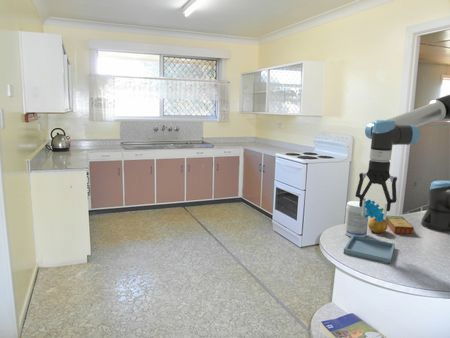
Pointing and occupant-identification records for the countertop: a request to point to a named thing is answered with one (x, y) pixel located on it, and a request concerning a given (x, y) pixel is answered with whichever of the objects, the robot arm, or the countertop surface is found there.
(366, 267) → the countertop surface
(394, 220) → the carton
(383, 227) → the fruit
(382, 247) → the tray
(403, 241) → the countertop surface
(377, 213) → the gear
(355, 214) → the supplement tub
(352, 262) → the countertop surface
